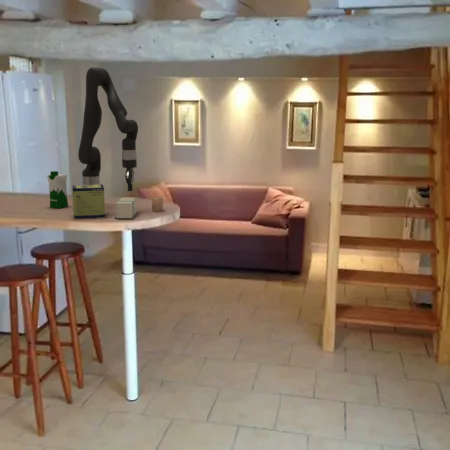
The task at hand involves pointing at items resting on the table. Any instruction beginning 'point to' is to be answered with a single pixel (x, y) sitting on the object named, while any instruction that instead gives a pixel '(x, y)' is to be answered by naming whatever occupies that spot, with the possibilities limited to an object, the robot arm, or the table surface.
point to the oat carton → (126, 208)
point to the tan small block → (157, 204)
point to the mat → (128, 218)
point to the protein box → (88, 201)
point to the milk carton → (57, 190)
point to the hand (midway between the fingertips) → (130, 190)
